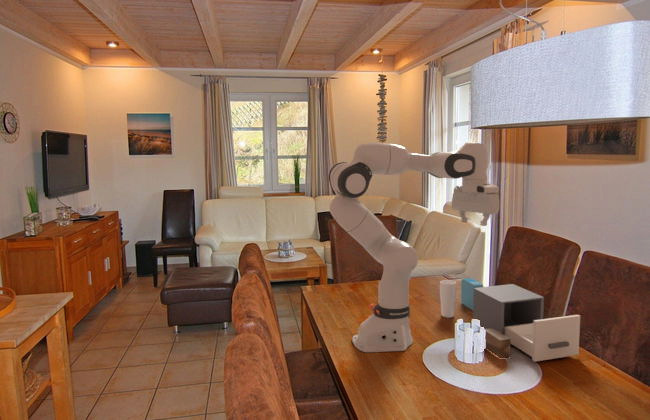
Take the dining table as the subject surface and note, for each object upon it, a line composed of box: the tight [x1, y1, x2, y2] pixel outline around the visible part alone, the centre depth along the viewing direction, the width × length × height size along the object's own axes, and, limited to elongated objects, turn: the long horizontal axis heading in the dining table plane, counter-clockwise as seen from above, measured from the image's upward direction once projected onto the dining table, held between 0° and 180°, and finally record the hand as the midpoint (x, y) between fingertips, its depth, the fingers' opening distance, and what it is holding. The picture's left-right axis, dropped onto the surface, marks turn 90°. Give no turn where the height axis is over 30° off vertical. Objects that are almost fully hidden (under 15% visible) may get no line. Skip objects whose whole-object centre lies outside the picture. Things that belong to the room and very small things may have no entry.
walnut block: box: [485, 328, 511, 359], centre depth 158 cm, size 4×10×7 cm, turn 14°
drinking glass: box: [439, 279, 457, 319], centre depth 194 cm, size 7×7×15 cm
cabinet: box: [472, 283, 545, 335], centre depth 176 cm, size 18×18×16 cm
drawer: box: [504, 314, 581, 362], centre depth 158 cm, size 17×19×14 cm
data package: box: [460, 277, 484, 312], centre depth 204 cm, size 12×4×12 cm, turn 10°
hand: (473, 223), depth 169 cm, fingers open, 8 cm apart
